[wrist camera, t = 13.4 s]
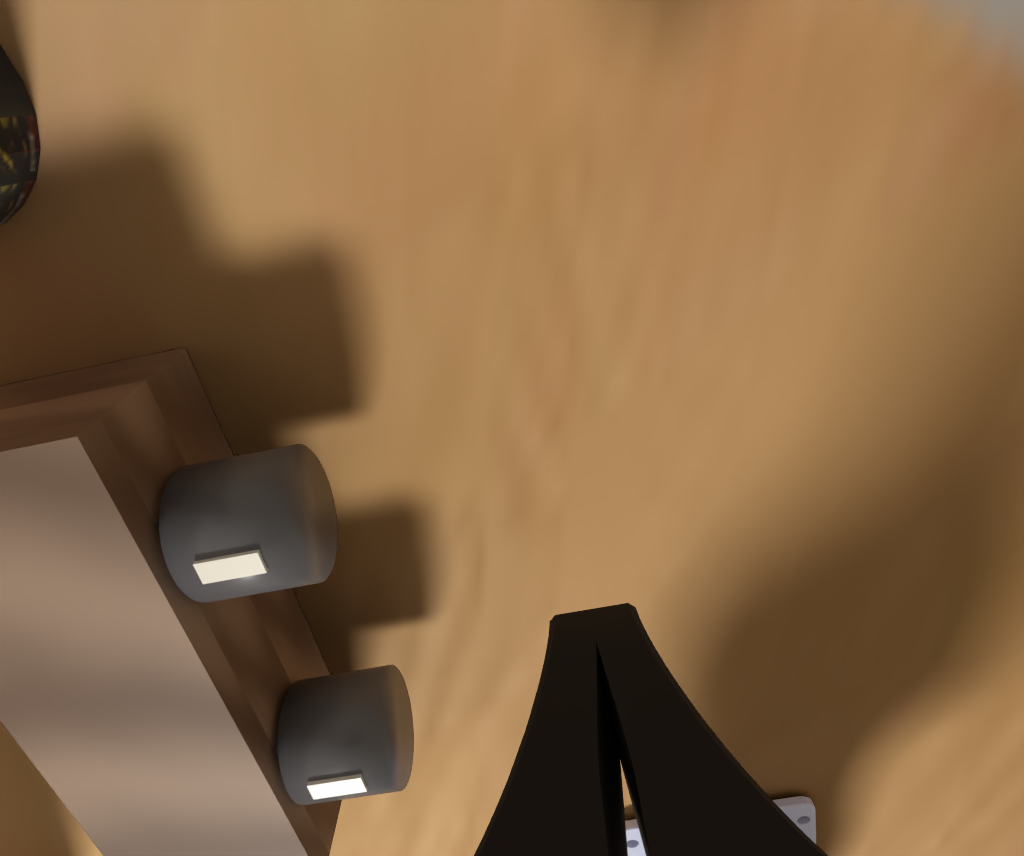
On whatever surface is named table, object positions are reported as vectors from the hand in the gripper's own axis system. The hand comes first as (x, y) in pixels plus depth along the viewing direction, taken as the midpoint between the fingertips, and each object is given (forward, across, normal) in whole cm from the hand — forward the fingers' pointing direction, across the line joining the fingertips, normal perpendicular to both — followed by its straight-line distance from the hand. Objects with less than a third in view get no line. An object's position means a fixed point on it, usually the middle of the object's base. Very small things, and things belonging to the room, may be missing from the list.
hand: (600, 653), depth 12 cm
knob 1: (+8, +11, 0) cm, 14 cm away
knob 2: (+8, +11, +8) cm, 16 cm away
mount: (+10, +13, +4) cm, 17 cm away
